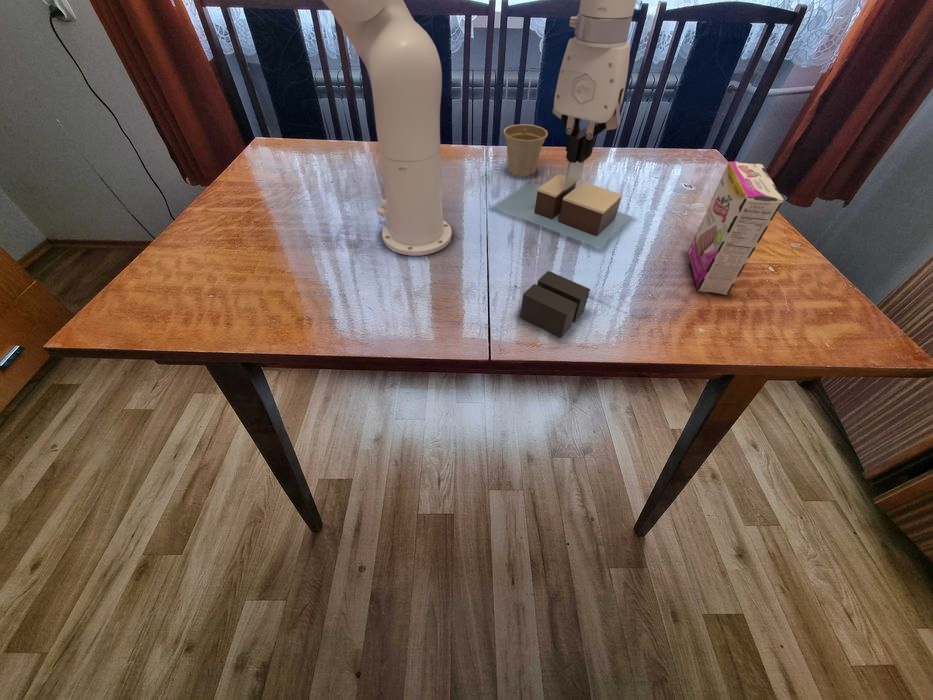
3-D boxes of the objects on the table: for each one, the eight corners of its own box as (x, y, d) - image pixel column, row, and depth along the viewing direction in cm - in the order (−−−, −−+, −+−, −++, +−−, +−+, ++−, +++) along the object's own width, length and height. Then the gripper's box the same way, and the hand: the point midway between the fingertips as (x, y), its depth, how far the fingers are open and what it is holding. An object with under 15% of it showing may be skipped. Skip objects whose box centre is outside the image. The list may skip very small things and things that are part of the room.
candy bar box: (684, 253, 74) (727, 159, 62) (714, 257, 73) (763, 162, 61) (694, 292, 67) (746, 194, 55) (728, 297, 66) (787, 199, 54)
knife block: (519, 317, 62) (522, 293, 59) (543, 293, 66) (548, 270, 63) (561, 338, 59) (567, 314, 56) (583, 312, 63) (590, 289, 60)
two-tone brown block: (534, 213, 82) (537, 188, 78) (554, 197, 86) (558, 173, 82) (551, 219, 80) (556, 195, 77) (571, 203, 85) (576, 179, 81)
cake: (558, 222, 80) (563, 197, 76) (578, 206, 84) (583, 181, 80) (596, 236, 76) (603, 211, 73) (615, 219, 81) (622, 194, 77)
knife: (568, 191, 76) (578, 139, 69) (560, 189, 77) (569, 137, 70) (583, 179, 79) (594, 129, 73) (576, 177, 80) (586, 127, 73)
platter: (493, 209, 84) (493, 206, 83) (530, 184, 91) (530, 181, 91) (598, 250, 74) (599, 247, 74) (630, 219, 82) (631, 216, 81)
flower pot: (494, 165, 98) (497, 126, 91) (531, 161, 100) (536, 121, 93) (509, 183, 92) (513, 142, 85) (548, 178, 94) (555, 137, 87)
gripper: (542, 27, 62) (528, 153, 76) (644, 43, 56) (609, 178, 69) (567, 19, 66) (549, 141, 80) (664, 33, 60) (627, 163, 73)
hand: (577, 157), depth 74 cm, fingers closed on knife, 1 cm apart
